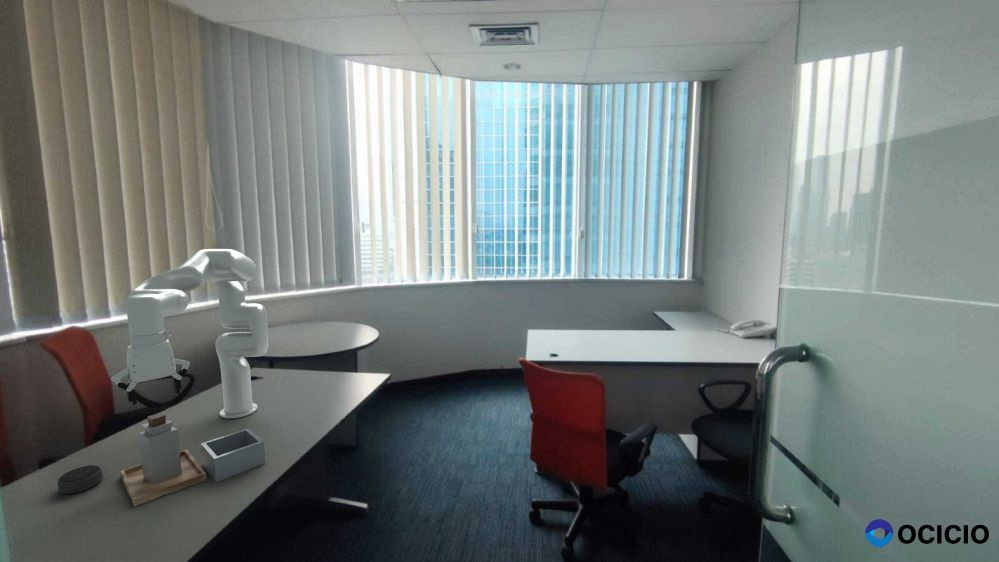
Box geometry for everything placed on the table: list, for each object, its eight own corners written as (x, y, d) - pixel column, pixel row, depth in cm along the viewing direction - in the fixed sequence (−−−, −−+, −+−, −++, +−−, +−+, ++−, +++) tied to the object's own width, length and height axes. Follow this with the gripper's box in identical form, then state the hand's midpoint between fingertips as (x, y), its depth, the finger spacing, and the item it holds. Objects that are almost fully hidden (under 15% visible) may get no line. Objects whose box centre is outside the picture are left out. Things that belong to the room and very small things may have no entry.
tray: (120, 477, 124) (120, 470, 124) (187, 455, 136) (186, 449, 136) (134, 506, 111) (133, 499, 111) (206, 479, 123) (205, 473, 123)
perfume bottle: (181, 473, 125) (175, 414, 123) (154, 485, 119) (147, 423, 117) (171, 466, 128) (165, 409, 126) (143, 477, 123) (136, 417, 120)
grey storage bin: (202, 465, 130) (200, 443, 129) (249, 448, 140) (248, 428, 139) (216, 482, 122) (214, 458, 121) (265, 463, 132) (263, 441, 131)
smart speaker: (62, 484, 121) (60, 470, 121) (105, 473, 126) (103, 460, 126) (55, 500, 114) (53, 486, 114) (100, 488, 119) (98, 474, 119)
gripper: (182, 330, 127) (189, 385, 130) (104, 343, 114) (113, 403, 117) (189, 334, 122) (196, 392, 125) (108, 349, 110) (117, 412, 112)
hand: (156, 397), depth 121 cm, fingers open, 9 cm apart
